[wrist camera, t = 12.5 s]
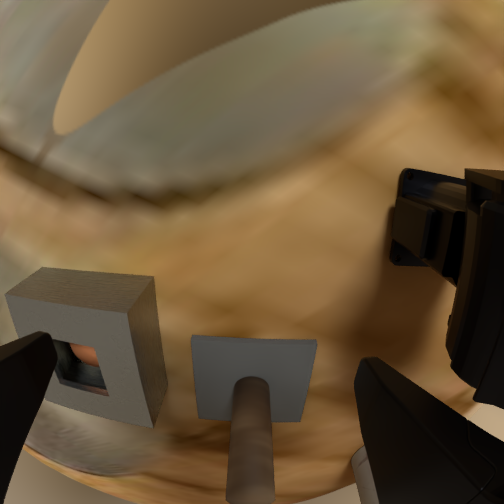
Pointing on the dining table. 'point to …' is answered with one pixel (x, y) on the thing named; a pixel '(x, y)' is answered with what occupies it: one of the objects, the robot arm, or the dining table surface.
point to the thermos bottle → (364, 477)
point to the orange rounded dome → (85, 354)
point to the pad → (251, 373)
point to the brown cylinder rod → (251, 444)
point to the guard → (97, 340)
